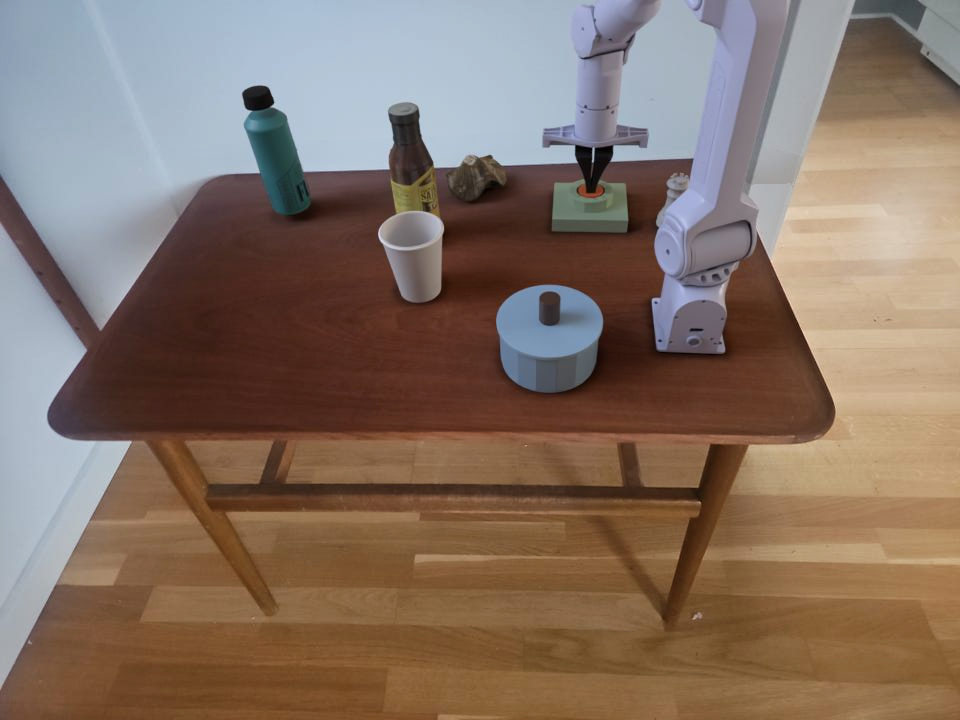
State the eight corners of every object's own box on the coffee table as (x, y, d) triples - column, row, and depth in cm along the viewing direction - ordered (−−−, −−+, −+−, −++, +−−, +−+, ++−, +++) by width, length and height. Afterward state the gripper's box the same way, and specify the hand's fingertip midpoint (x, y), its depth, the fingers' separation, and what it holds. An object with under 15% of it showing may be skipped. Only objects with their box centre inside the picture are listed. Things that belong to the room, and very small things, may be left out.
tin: (596, 395, 74) (599, 360, 70) (497, 390, 76) (495, 355, 71) (595, 326, 82) (598, 291, 78) (505, 323, 83) (504, 288, 79)
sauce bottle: (436, 251, 95) (419, 122, 80) (395, 248, 96) (371, 120, 81) (446, 225, 99) (432, 99, 85) (407, 223, 100) (386, 97, 86)
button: (602, 206, 96) (603, 196, 95) (577, 206, 96) (578, 196, 95) (601, 193, 98) (602, 183, 97) (578, 193, 99) (578, 182, 98)
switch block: (626, 232, 95) (629, 209, 92) (551, 231, 96) (552, 208, 94) (624, 195, 102) (626, 172, 99) (554, 194, 103) (554, 172, 100)
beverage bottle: (310, 223, 102) (273, 99, 87) (269, 224, 102) (225, 101, 88) (318, 200, 106) (284, 78, 92) (279, 201, 107) (238, 80, 92)
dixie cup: (379, 300, 88) (365, 240, 81) (408, 264, 93) (398, 205, 86) (433, 315, 85) (424, 254, 78) (460, 277, 90) (454, 217, 83)
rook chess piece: (678, 238, 94) (687, 189, 88) (650, 228, 96) (657, 180, 90) (691, 222, 96) (701, 174, 90) (663, 213, 98) (672, 166, 92)
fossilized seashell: (496, 156, 108) (441, 178, 107) (497, 135, 101) (437, 158, 101) (514, 194, 106) (458, 217, 106) (516, 176, 100) (456, 199, 99)
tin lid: (603, 366, 70) (606, 338, 67) (491, 361, 71) (489, 334, 68) (601, 293, 78) (604, 265, 75) (501, 290, 80) (500, 262, 77)
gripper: (650, 87, 88) (638, 175, 98) (544, 87, 90) (543, 174, 100) (654, 111, 83) (641, 201, 93) (542, 111, 85) (540, 200, 95)
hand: (590, 189), depth 96 cm, fingers closed, pressing on button
